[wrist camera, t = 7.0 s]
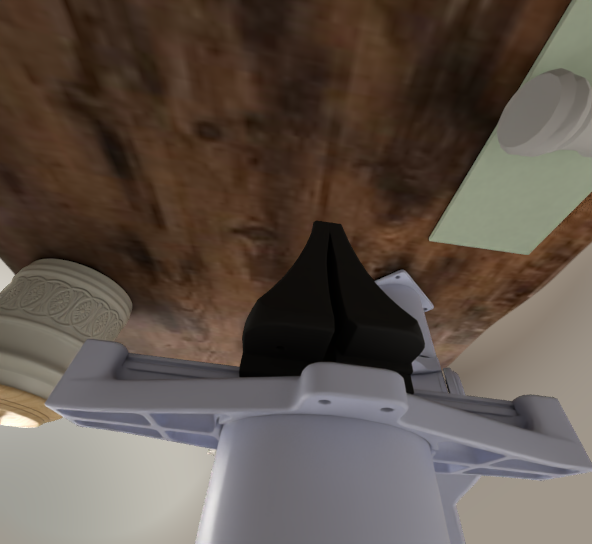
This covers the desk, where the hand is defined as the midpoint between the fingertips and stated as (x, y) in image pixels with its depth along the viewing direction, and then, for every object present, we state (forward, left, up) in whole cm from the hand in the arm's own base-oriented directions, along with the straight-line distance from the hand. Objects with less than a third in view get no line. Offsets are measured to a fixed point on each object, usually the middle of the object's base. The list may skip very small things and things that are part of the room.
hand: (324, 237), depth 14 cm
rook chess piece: (+11, -4, -8) cm, 14 cm away
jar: (-36, +5, -11) cm, 38 cm away
